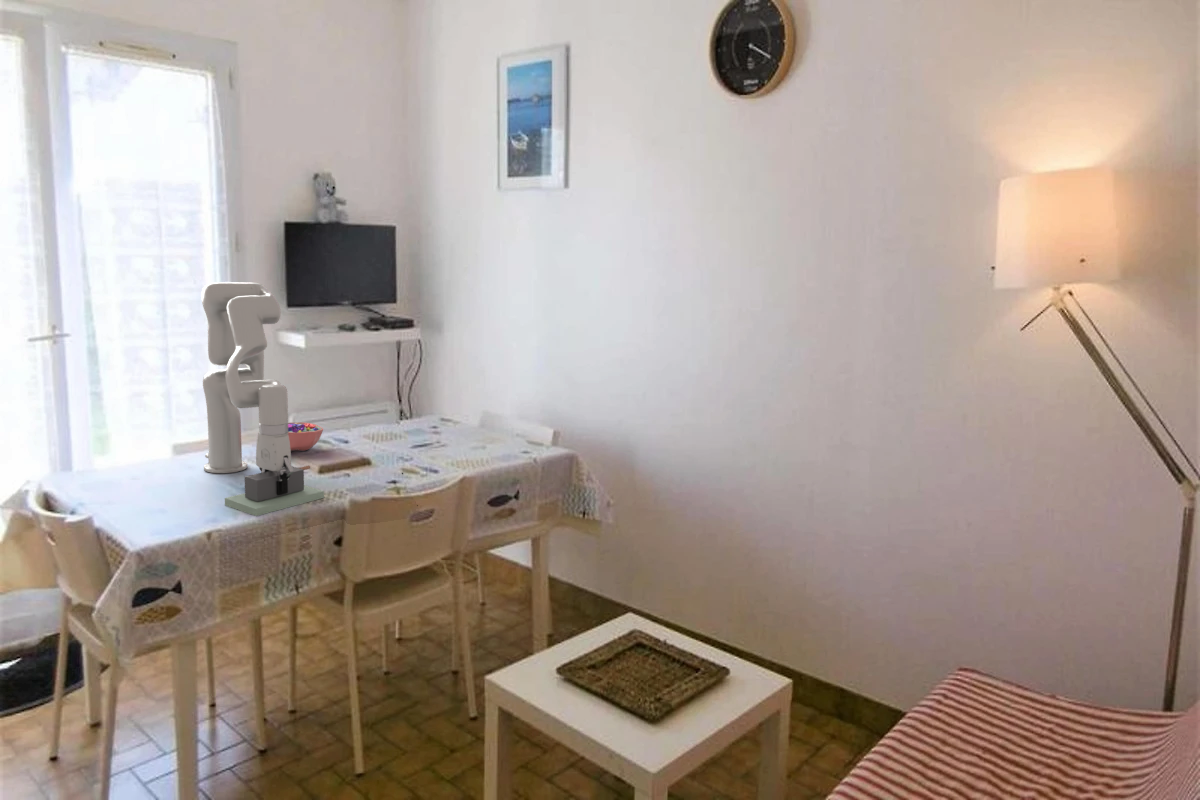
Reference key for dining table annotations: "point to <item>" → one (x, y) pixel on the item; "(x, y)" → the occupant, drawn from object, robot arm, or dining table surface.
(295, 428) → the cell model
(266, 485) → the block
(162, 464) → the dining table surface
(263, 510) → the header board
